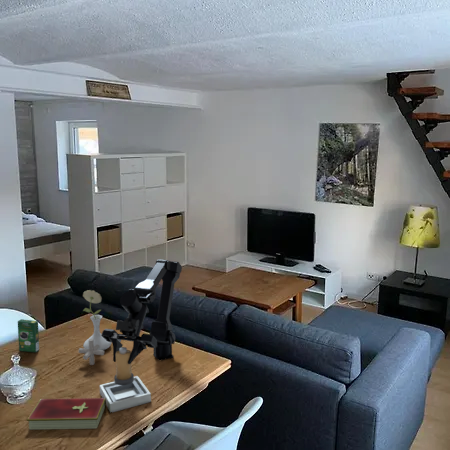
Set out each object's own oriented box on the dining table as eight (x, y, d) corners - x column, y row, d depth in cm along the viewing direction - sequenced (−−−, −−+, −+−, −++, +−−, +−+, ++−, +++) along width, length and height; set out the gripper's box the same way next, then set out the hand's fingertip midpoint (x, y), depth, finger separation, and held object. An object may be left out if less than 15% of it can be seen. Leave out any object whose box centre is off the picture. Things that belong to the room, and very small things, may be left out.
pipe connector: (98, 371, 178) (96, 346, 176) (73, 368, 180) (72, 343, 178) (109, 359, 188) (108, 335, 186) (86, 357, 190) (85, 333, 188)
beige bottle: (124, 373, 163) (123, 342, 161) (137, 379, 160) (136, 347, 158) (110, 381, 158) (109, 349, 156) (123, 387, 154) (122, 354, 152)
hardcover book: (41, 409, 153) (40, 397, 153) (106, 408, 154) (105, 396, 153) (27, 431, 142) (26, 418, 141) (97, 430, 142) (97, 417, 142)
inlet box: (137, 383, 169) (137, 375, 168) (150, 401, 157) (150, 393, 157) (99, 393, 162) (99, 385, 162) (110, 412, 151) (110, 404, 150)
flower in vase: (117, 346, 200) (115, 289, 195) (96, 356, 190) (94, 297, 186) (95, 339, 206) (93, 284, 202) (74, 348, 197) (71, 291, 193)
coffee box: (40, 350, 196) (38, 320, 193) (36, 353, 193) (34, 322, 191) (23, 348, 197) (20, 318, 195) (18, 351, 194) (16, 321, 192)
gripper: (102, 306, 161) (86, 350, 152) (152, 312, 156) (138, 358, 147) (115, 319, 170) (100, 362, 161) (163, 325, 165) (150, 369, 156)
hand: (121, 362), depth 156 cm, fingers closed on beige bottle, 5 cm apart
